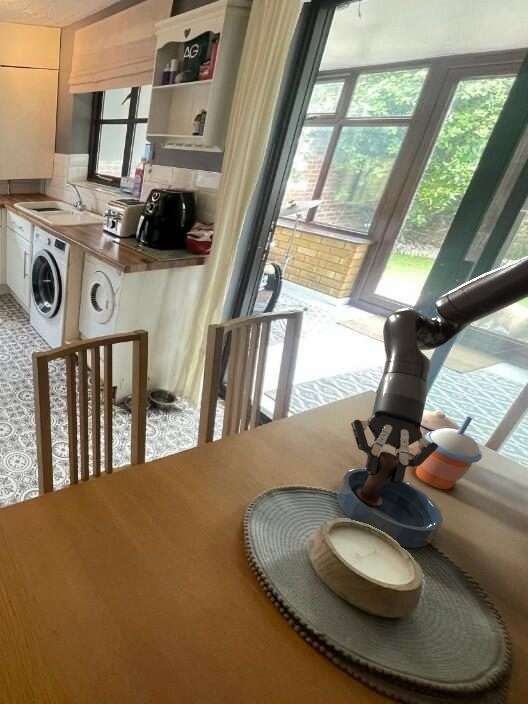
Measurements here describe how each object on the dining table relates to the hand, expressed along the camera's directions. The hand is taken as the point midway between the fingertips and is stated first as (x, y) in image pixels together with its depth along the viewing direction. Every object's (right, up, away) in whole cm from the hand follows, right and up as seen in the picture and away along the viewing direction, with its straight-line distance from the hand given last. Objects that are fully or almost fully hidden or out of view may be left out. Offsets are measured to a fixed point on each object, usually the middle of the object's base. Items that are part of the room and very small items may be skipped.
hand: (383, 478), depth 82 cm
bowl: (+4, -10, +5) cm, 12 cm away
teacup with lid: (+29, -2, +22) cm, 37 cm away
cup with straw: (+24, -6, +14) cm, 29 cm away
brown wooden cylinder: (+1, -6, +5) cm, 8 cm away
